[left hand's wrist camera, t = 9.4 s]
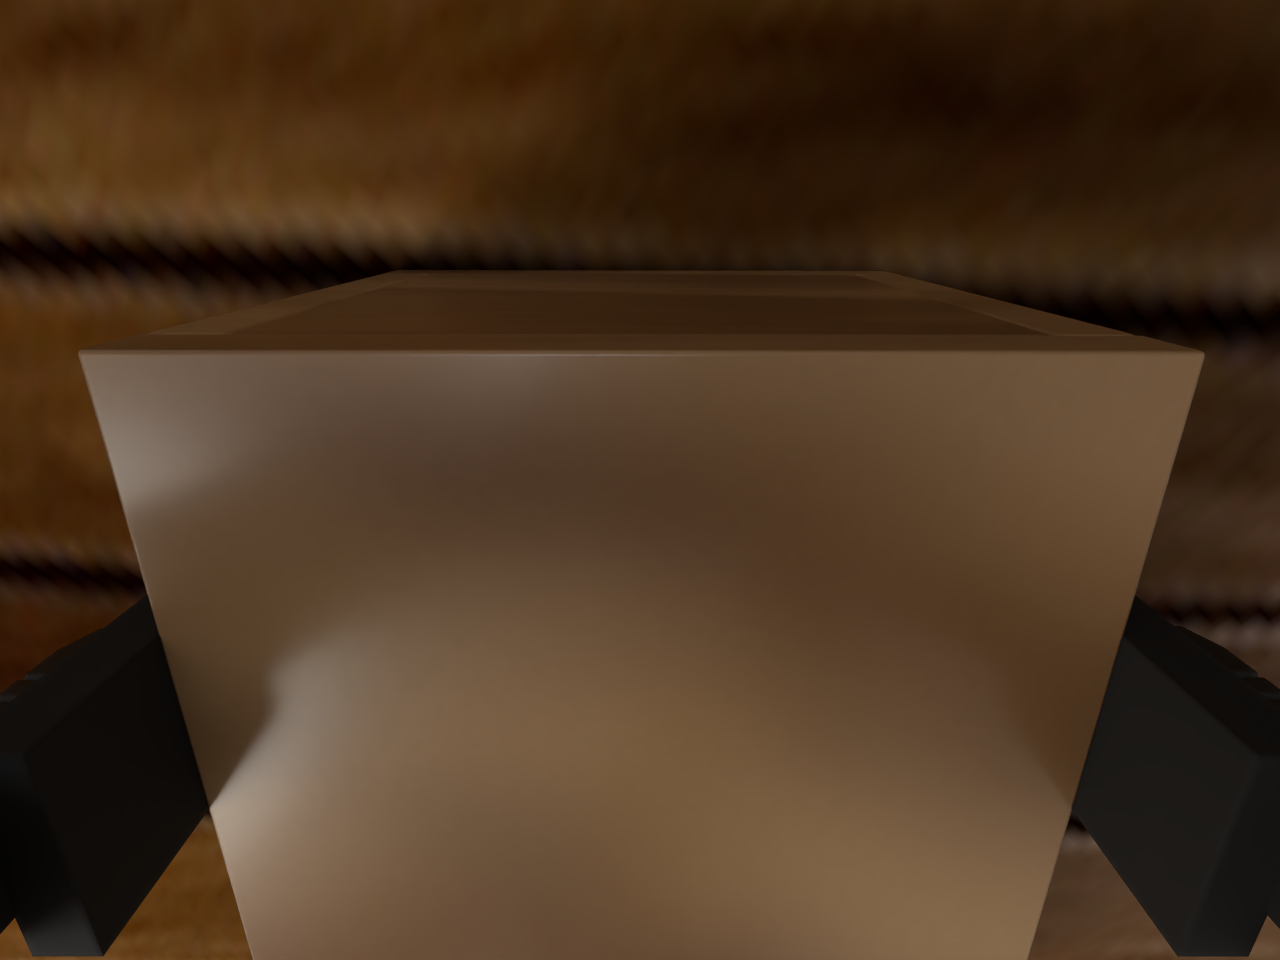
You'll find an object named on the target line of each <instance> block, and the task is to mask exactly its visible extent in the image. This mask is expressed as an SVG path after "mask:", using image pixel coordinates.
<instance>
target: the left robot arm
mask: <svg viewBox="0 0 1280 960" xmlns="http://www.w3.org/2000/svg"><path fill="white" fill-rule="evenodd" d="M208 810H209V805H208V802H207V799H206V795H205V792H204V788H203V785H202V781H201V778H200V774H199V771H198V767H197V764H196V760H195V757H194V753H193V750H192V747H191V743H190V740H189V736H188V733H187V729H186V726H185V722H184V719H183V715H182V712H181V708H180V705H179V702H178V698H177V695H176V691H175V688H174V684H173V681H172V677H171V674H170V670H169V667H168V663H167V660H166V657H165V653H164V650H163V646H162V643H161V639H160V636H159V632H158V629H157V625H156V622H155V618H154V615H153V612H152V608H151V605H150V601H149V598H148V594H147V595H146V596H145V597H143V598H142V599H141V600H140V601H138V602H137V603H136V604H134V605H133V606H132V607H131V608H129V609H128V610H127V611H125V612H124V613H123V614H122V615H120V616H119V617H118V618H117V619H115V620H114V621H113V622H111V623H110V624H109V625H108V626H106V627H105V628H104V629H99V630H97V631H95V632H93V633H91V634H89V635H87V636H85V637H83V638H81V639H79V640H77V641H75V642H73V643H71V644H69V645H67V646H65V647H63V648H61V649H59V650H57V651H56V652H55V653H53V654H52V655H51V656H49V657H48V658H47V659H45V660H44V661H43V662H42V663H40V664H39V665H38V666H36V667H35V668H34V669H32V670H31V671H30V672H28V673H27V674H26V675H25V678H24V680H18V681H16V682H15V683H14V684H12V685H11V686H10V687H9V688H7V689H6V690H5V691H3V692H2V693H1V694H0V934H1V933H2V931H3V930H4V929H5V928H6V927H7V926H8V925H9V924H10V922H11V921H12V920H13V919H14V918H16V921H17V923H18V925H19V927H20V929H21V932H22V934H23V936H24V938H25V940H26V943H27V945H28V947H29V949H30V951H31V954H32V956H104V954H105V953H106V952H107V950H108V949H109V947H110V946H111V945H112V943H113V942H114V940H115V939H116V938H117V936H118V935H119V933H120V932H121V931H122V929H123V928H124V927H125V925H126V924H127V922H128V921H129V920H130V918H131V917H132V915H133V914H134V913H135V911H136V910H137V908H138V907H139V906H140V904H141V903H142V901H143V900H144V899H145V897H146V896H147V895H148V893H149V892H150V890H151V889H152V888H153V886H154V885H155V883H156V882H157V881H158V879H159V878H160V876H161V875H162V874H163V872H164V871H165V869H166V868H167V867H168V865H169V864H170V863H171V861H172V860H173V858H174V857H175V856H176V854H177V853H178V851H179V850H180V849H181V847H182V846H183V844H184V843H185V842H186V840H187V839H188V837H189V836H190V835H191V833H192V832H193V830H194V829H195V828H196V826H197V825H198V824H199V822H200V821H201V819H202V818H203V817H204V815H205V814H206V812H207V811H208ZM1072 810H1073V811H1074V813H1075V814H1076V815H1077V817H1078V818H1079V820H1080V821H1081V822H1082V824H1083V825H1084V826H1085V828H1086V829H1087V831H1088V832H1089V833H1090V835H1091V836H1092V838H1093V839H1094V840H1095V842H1096V843H1097V845H1098V846H1099V847H1100V849H1101V850H1102V852H1103V853H1104V854H1105V856H1106V857H1107V859H1108V860H1109V861H1110V863H1111V864H1112V865H1113V867H1114V868H1115V870H1116V871H1117V872H1118V874H1119V875H1120V877H1121V878H1122V879H1123V881H1124V882H1125V884H1126V885H1127V886H1128V888H1129V889H1130V891H1131V892H1132V893H1133V895H1134V896H1135V897H1136V899H1137V900H1138V902H1139V903H1140V904H1141V906H1142V907H1143V909H1144V910H1145V911H1146V913H1147V914H1148V916H1149V917H1150V918H1151V920H1152V921H1153V923H1154V924H1155V925H1156V927H1157V928H1158V929H1159V931H1160V932H1161V934H1162V935H1163V936H1164V938H1165V939H1166V941H1167V942H1168V943H1169V945H1170V946H1171V948H1172V949H1173V950H1174V952H1175V953H1176V955H1177V956H1249V954H1250V952H1251V950H1252V948H1253V945H1254V943H1255V941H1256V939H1257V937H1258V934H1259V932H1260V930H1261V928H1262V926H1263V923H1264V921H1265V919H1266V917H1267V915H1268V916H1269V917H1270V918H1271V919H1272V921H1273V922H1274V923H1275V924H1276V925H1277V926H1278V927H1279V928H1280V689H1278V688H1277V687H1276V686H1274V685H1273V684H1272V683H1270V682H1269V681H1268V680H1266V679H1265V678H1259V677H1258V675H1257V672H1256V671H1255V670H1253V669H1252V668H1251V667H1249V666H1248V665H1247V664H1245V663H1244V662H1243V661H1241V660H1240V659H1239V658H1237V657H1236V656H1235V655H1233V654H1232V653H1231V652H1229V651H1228V650H1227V649H1225V648H1224V647H1222V646H1220V645H1218V644H1216V643H1214V642H1212V641H1210V640H1208V639H1206V638H1204V637H1202V636H1200V635H1198V634H1196V633H1194V632H1192V631H1190V630H1188V629H1186V628H1184V627H1182V626H1173V625H1172V624H1171V623H1170V622H1168V621H1167V620H1166V619H1164V618H1163V617H1162V616H1161V615H1159V614H1158V613H1157V612H1155V611H1154V610H1153V609H1152V608H1150V607H1149V606H1148V605H1147V604H1145V603H1144V602H1143V601H1141V600H1140V599H1139V598H1138V597H1136V596H1134V600H1133V603H1132V607H1131V610H1130V613H1129V617H1128V620H1127V624H1126V627H1125V631H1124V634H1123V637H1122V641H1121V644H1120V648H1119V651H1118V654H1117V658H1116V661H1115V665H1114V668H1113V671H1112V675H1111V678H1110V682H1109V685H1108V688H1107V692H1106V695H1105V699H1104V702H1103V705H1102V709H1101V712H1100V716H1099V719H1098V722H1097V726H1096V729H1095V733H1094V736H1093V739H1092V743H1091V746H1090V750H1089V753H1088V756H1087V760H1086V763H1085V767H1084V770H1083V773H1082V777H1081V780H1080V784H1079V787H1078V791H1077V794H1076V797H1075V801H1074V804H1073V808H1072Z"/></svg>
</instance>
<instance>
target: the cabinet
mask: <svg viewBox="0 0 1280 960" xmlns="http://www.w3.org/2000/svg"><path fill="white" fill-rule="evenodd" d="M78 355H79V359H80V362H81V366H82V369H83V373H84V376H85V379H86V383H87V386H88V390H89V393H90V397H91V400H92V404H93V407H94V411H95V414H96V418H97V421H98V425H99V428H100V431H101V435H102V438H103V442H104V445H105V449H106V452H107V456H108V459H109V463H110V466H111V470H112V473H113V476H114V480H115V483H116V487H117V490H118V494H119V497H120V501H121V504H122V508H123V511H124V515H125V518H126V521H127V525H128V528H129V532H130V535H131V539H132V542H133V546H134V549H135V553H136V556H137V560H138V563H139V566H140V570H141V573H142V577H143V580H144V584H145V587H146V591H147V594H148V598H149V601H150V605H151V608H152V612H153V615H154V618H155V622H156V625H157V629H158V632H159V636H160V639H161V643H162V646H163V650H164V653H165V657H166V660H167V663H168V667H169V670H170V674H171V677H172V681H173V684H174V688H175V691H176V695H177V698H178V702H179V705H180V708H181V712H182V715H183V719H184V722H185V726H186V729H187V733H188V736H189V740H190V743H191V747H192V750H193V753H194V757H195V760H196V764H197V767H198V771H199V774H200V778H201V781H202V785H203V788H204V792H205V795H206V799H207V802H208V805H209V809H210V812H211V816H212V819H213V823H214V826H215V830H216V833H217V837H218V840H219V844H220V847H221V850H222V854H223V857H224V861H225V864H226V868H227V871H228V875H229V878H230V882H231V885H232V889H233V892H234V895H235V899H236V902H237V906H238V909H239V913H240V916H241V920H242V923H243V927H244V930H245V934H246V937H247V940H248V944H249V947H250V951H251V954H252V958H253V960H1028V957H1029V954H1030V951H1031V947H1032V944H1033V940H1034V937H1035V934H1036V930H1037V927H1038V923H1039V920H1040V916H1041V913H1042V910H1043V906H1044V903H1045V899H1046V896H1047V893H1048V889H1049V886H1050V882H1051V879H1052V876H1053V872H1054V869H1055V865H1056V862H1057V859H1058V855H1059V852H1060V848H1061V845H1062V842H1063V838H1064V835H1065V831H1066V828H1067V825H1068V821H1069V818H1070V814H1071V811H1072V808H1073V804H1074V801H1075V797H1076V794H1077V791H1078V787H1079V784H1080V780H1081V777H1082V773H1083V770H1084V767H1085V763H1086V760H1087V756H1088V753H1089V750H1090V746H1091V743H1092V739H1093V736H1094V733H1095V729H1096V726H1097V722H1098V719H1099V716H1100V712H1101V709H1102V705H1103V702H1104V699H1105V695H1106V692H1107V688H1108V685H1109V682H1110V678H1111V675H1112V671H1113V668H1114V665H1115V661H1116V658H1117V654H1118V651H1119V648H1120V644H1121V641H1122V637H1123V634H1124V631H1125V627H1126V624H1127V620H1128V617H1129V613H1130V610H1131V607H1132V603H1133V600H1134V596H1135V593H1136V590H1137V586H1138V583H1139V579H1140V576H1141V573H1142V569H1143V566H1144V562H1145V559H1146V556H1147V552H1148V549H1149V545H1150V542H1151V539H1152V535H1153V532H1154V528H1155V525H1156V522H1157V518H1158V515H1159V511H1160V508H1161V505H1162V501H1163V498H1164V494H1165V491H1166V488H1167V484H1168V481H1169V477H1170V474H1171V471H1172V467H1173V464H1174V460H1175V457H1176V453H1177V450H1178V447H1179V443H1180V440H1181V436H1182V433H1183V430H1184V426H1185V423H1186V419H1187V416H1188V413H1189V409H1190V406H1191V402H1192V399H1193V396H1194V392H1195V389H1196V385H1197V382H1198V379H1199V375H1200V372H1201V368H1202V365H1203V362H1204V358H1205V353H1203V352H1202V351H1200V350H1196V349H1192V348H1188V347H1184V346H1180V345H1176V344H1172V343H1168V342H1164V341H1160V340H1156V339H1152V338H1149V337H1145V336H1134V335H1132V334H1129V333H1125V332H1122V331H1118V330H1114V329H1110V328H1106V327H1102V326H1098V325H1094V324H1090V323H1086V322H1082V321H1078V320H1074V319H1071V318H1067V317H1063V316H1059V315H1055V314H1051V313H1047V312H1043V311H1039V310H1035V309H1031V308H1027V307H1023V306H1020V305H1016V304H1012V303H1008V302H1004V301H1000V300H996V299H992V298H988V297H984V296H980V295H976V294H972V293H969V292H965V291H961V290H957V289H953V288H949V287H945V286H941V285H937V284H933V283H929V282H925V281H921V280H918V279H914V278H910V277H906V276H902V275H898V274H895V273H891V272H887V271H684V270H396V271H392V272H388V273H385V274H381V275H377V276H373V277H369V278H365V279H361V280H357V281H353V282H349V283H345V284H341V285H337V286H333V287H329V288H325V289H321V290H317V291H313V292H309V293H305V294H301V295H297V296H294V297H290V298H286V299H282V300H278V301H274V302H270V303H266V304H262V305H258V306H254V307H250V308H246V309H242V310H238V311H234V312H230V313H226V314H222V315H218V316H214V317H210V318H206V319H202V320H198V321H194V322H190V323H186V324H182V325H178V326H174V327H170V328H166V329H162V330H158V331H154V332H151V333H149V334H139V335H135V336H131V337H127V338H123V339H119V340H115V341H111V342H107V343H103V344H99V345H95V346H91V347H87V348H83V349H81V350H80V351H79V354H78Z"/></svg>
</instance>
